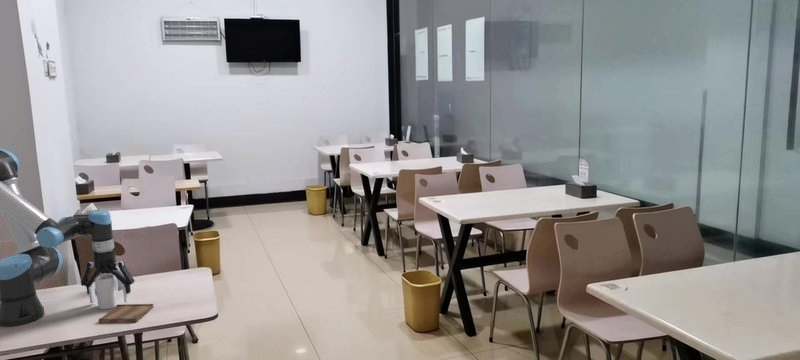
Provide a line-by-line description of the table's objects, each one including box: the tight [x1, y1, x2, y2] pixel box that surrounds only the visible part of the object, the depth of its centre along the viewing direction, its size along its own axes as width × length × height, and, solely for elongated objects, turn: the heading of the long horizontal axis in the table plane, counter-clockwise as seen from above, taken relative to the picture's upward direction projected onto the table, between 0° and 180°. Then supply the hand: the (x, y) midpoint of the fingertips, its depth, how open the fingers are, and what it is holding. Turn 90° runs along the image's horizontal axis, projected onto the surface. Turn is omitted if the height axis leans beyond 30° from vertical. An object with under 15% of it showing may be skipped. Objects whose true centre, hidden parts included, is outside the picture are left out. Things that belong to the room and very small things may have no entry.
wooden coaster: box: [98, 303, 154, 324], centre depth 220 cm, size 14×14×2 cm
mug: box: [94, 274, 119, 310], centre depth 231 cm, size 10×7×12 cm, turn 166°
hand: (110, 301), depth 231 cm, fingers open, 13 cm apart
